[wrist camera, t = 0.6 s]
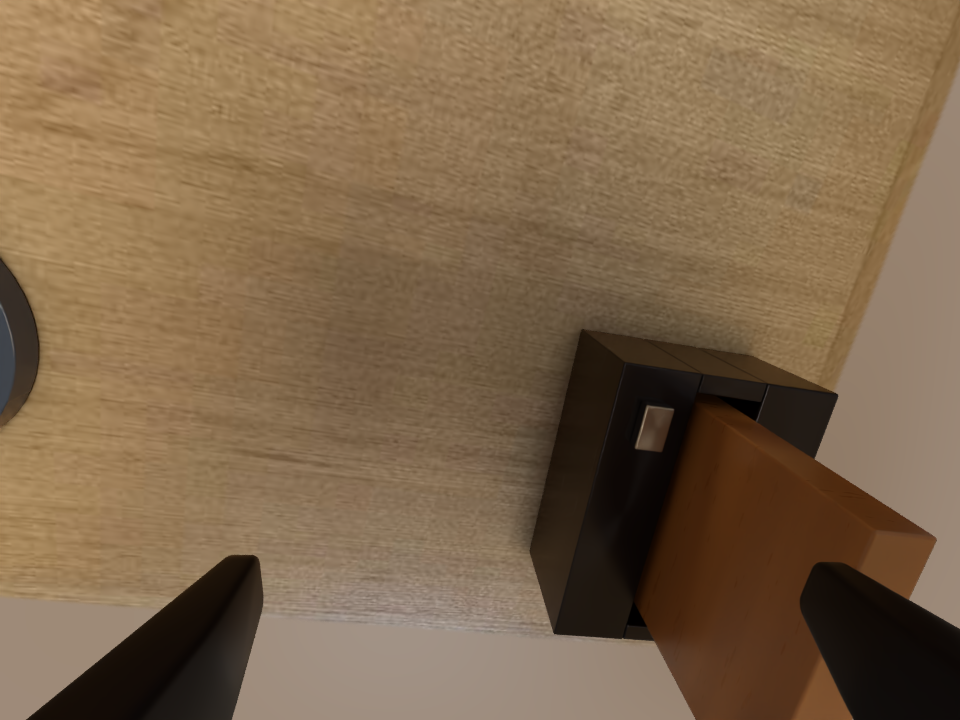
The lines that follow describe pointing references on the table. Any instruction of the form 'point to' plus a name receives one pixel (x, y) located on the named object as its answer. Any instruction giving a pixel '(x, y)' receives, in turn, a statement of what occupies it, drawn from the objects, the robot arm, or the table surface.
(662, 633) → the brown wooden flat block
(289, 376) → the table surface
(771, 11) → the table surface
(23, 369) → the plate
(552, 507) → the slotted dark tray
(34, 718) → the robot arm
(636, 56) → the table surface
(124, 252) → the table surface
